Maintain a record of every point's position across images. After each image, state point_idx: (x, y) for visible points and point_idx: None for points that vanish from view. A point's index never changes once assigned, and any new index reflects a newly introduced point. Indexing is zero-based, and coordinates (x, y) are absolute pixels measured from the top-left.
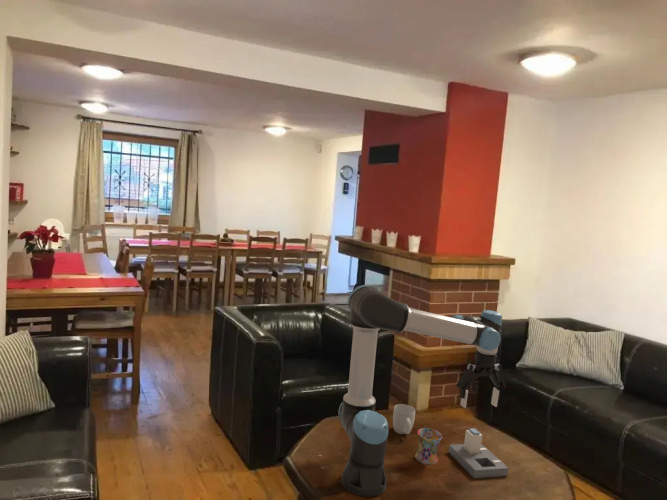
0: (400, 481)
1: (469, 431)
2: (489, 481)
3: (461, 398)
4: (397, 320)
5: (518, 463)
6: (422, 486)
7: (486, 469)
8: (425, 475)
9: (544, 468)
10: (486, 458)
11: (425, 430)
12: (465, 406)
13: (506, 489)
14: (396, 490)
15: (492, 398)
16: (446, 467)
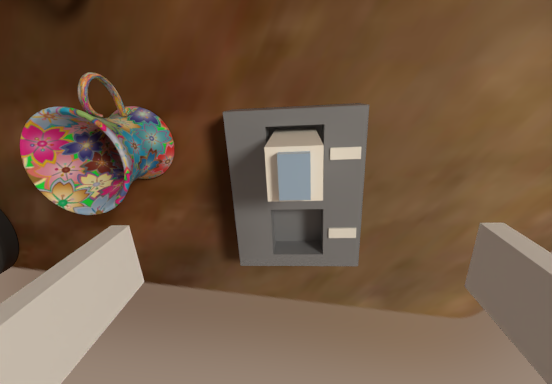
0: (55, 230)
1: (274, 162)
2: None
3: (57, 271)
4: None
5: (458, 180)
6: None
7: (278, 265)
8: (123, 213)
9: (527, 214)
10: (320, 208)
11: (67, 114)
12: (133, 289)
13: (314, 285)
14: (43, 259)
15: (532, 273)
16: (195, 182)
